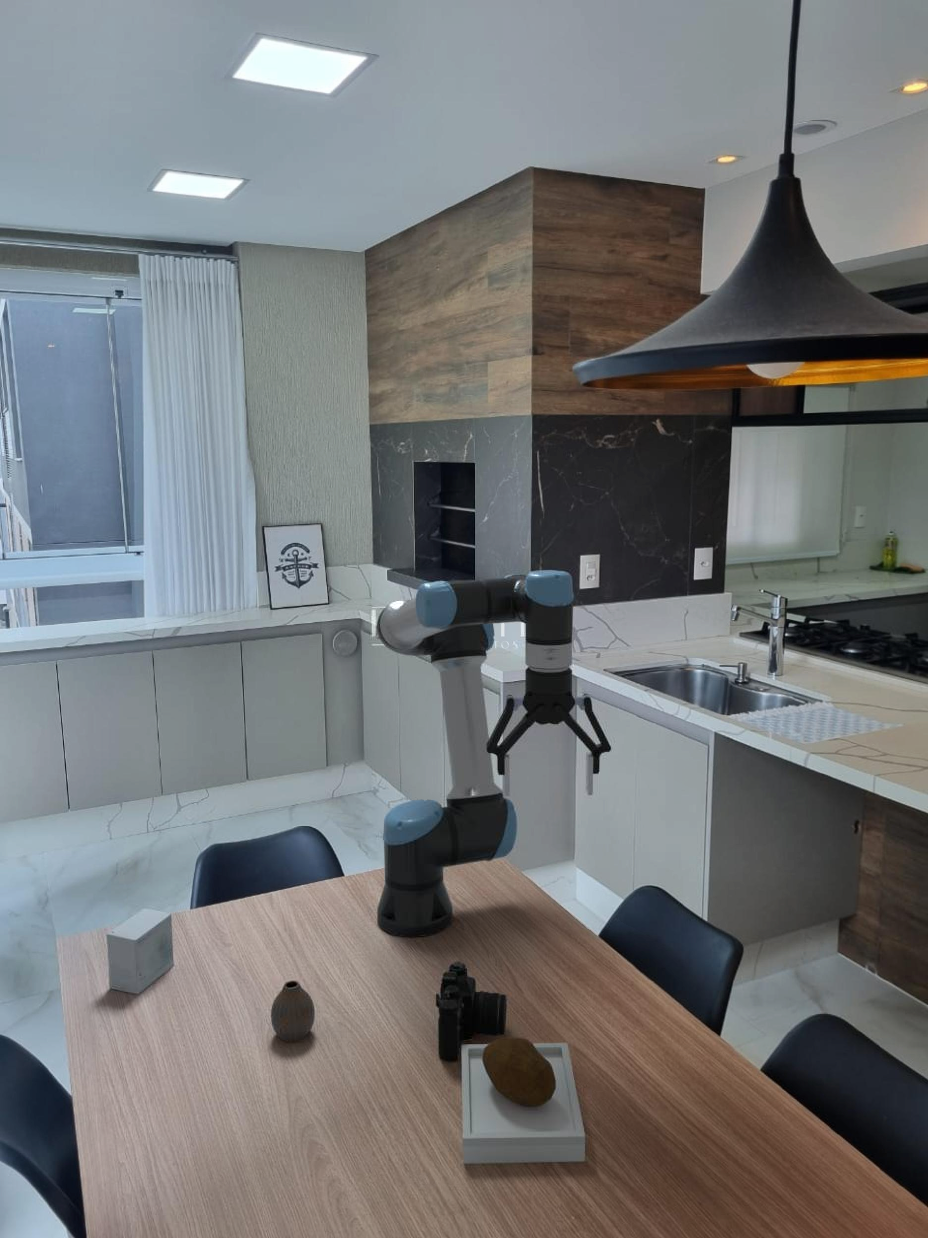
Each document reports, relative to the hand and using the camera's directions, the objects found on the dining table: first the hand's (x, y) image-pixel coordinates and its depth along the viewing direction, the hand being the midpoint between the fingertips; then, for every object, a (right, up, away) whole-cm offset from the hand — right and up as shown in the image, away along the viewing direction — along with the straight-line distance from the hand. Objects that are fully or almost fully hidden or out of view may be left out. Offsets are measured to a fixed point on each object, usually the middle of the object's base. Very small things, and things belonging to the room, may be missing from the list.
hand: (548, 793), depth 156 cm
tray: (-6, -41, -22) cm, 47 cm away
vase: (-41, -38, -4) cm, 57 cm away
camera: (-13, -38, -5) cm, 41 cm away
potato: (-6, -39, -22) cm, 45 cm away
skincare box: (-71, -36, +14) cm, 81 cm away
